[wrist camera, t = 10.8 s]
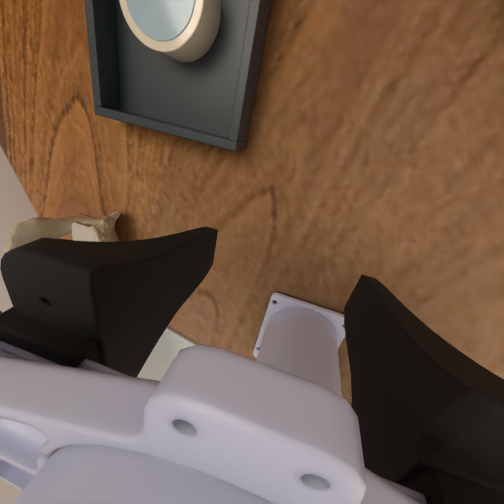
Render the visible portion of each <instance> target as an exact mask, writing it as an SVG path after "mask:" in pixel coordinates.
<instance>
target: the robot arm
mask: <svg viewBox="0 0 504 504" xmlns="http://www.w3.org/2000/svg"><path fill="white" fill-rule="evenodd" d="M217 233H218V230H216V229H213V228H209V227H201V228H197V229H193V230H189V231H185V232H181V233H177V234H172V235H168V236H163V237H158V238H152V239H144V240H135V241H115V242H96V241H75V240H65V239H54V238H45V237H44V238H40V239H37V240H35V241H32V242H30V243H27V244H24V245H22V246H19V247H17V248H14V249H11V250H9V251H8V252H6V253H5V254H4V256H3V257H2V259H1V273H2V276H3V280H4V282H5V285H6V288H7V290H8V293H9V296H10V299H11V301H12V304H13V306H14V307H12V308H10V309H9V310H7V311H5V312H3V313H2V312H1V311H0V478H1V479H3V480H4V481H6V482H8V483H9V484H11V485H13V486H15V487H16V488H18V489H20V490H21V491H22V492H21V493H20V494H19V496H18V497H17V498H16V499H15V501H14V502H13V503H12V504H504V380H503V379H502V378H500V377H498V376H497V375H495V374H493V373H492V372H490V371H489V370H487V369H485V368H484V367H482V366H481V365H479V364H478V363H476V362H475V361H473V360H472V359H470V358H469V357H467V356H466V355H464V354H463V353H461V352H460V351H459V350H457V349H456V348H454V347H453V346H452V345H450V344H449V343H448V342H446V341H445V340H444V339H442V338H441V337H440V336H439V335H437V334H436V333H435V332H433V331H432V330H431V329H430V328H429V327H427V326H426V325H425V324H424V323H423V322H422V321H420V320H419V319H418V318H417V317H416V316H415V315H414V314H413V313H412V312H410V311H409V310H408V309H407V308H406V307H405V306H404V305H403V304H402V303H401V302H400V301H399V300H398V299H397V298H396V297H395V296H394V295H393V294H392V293H391V292H390V291H389V290H388V289H387V288H386V287H385V286H384V285H383V284H381V283H380V282H379V281H378V280H377V279H375V278H372V277H369V276H366V275H361V277H360V279H359V281H358V283H357V285H356V286H355V288H354V290H353V292H352V294H351V296H350V298H349V300H348V301H347V303H346V305H345V309H344V314H341V313H338V312H335V311H332V310H329V309H326V308H323V307H320V306H317V305H314V304H311V303H308V302H305V301H302V300H299V299H296V298H292V297H289V296H286V295H283V294H280V293H277V292H275V293H273V294H272V295H271V298H270V302H269V305H268V308H267V311H266V314H265V317H264V320H263V323H262V326H261V330H260V333H259V336H258V339H257V342H256V345H255V348H254V351H253V355H254V356H255V357H256V358H257V360H256V361H255V360H253V359H250V358H247V357H244V356H242V355H239V354H236V353H234V352H231V351H228V350H225V349H223V348H219V347H213V346H207V345H201V344H200V345H194V346H191V347H188V348H185V349H182V350H180V351H179V353H178V355H177V356H176V358H175V359H174V361H173V362H172V364H171V366H170V367H169V369H168V370H167V372H166V373H165V375H164V377H163V378H162V380H161V381H156V380H149V379H143V378H137V376H138V374H139V372H140V370H141V369H142V367H143V365H144V363H145V362H146V360H147V358H148V357H149V355H150V353H151V352H152V350H153V348H154V347H155V345H156V343H157V342H158V340H159V338H160V337H161V335H162V334H163V332H164V330H165V329H166V327H167V326H168V324H169V323H170V321H171V320H172V318H173V317H174V315H175V314H176V312H177V311H178V310H179V308H180V307H181V306H182V305H183V304H184V302H185V301H186V300H187V299H188V298H189V296H190V295H191V294H192V293H193V292H194V290H195V289H196V288H197V287H198V285H199V284H200V283H201V282H202V281H203V279H204V278H205V276H206V275H207V273H208V271H209V270H210V268H211V266H212V265H213V259H214V253H215V246H216V240H217ZM273 300H275V301H277V302H274V301H273ZM343 324H344V325H343ZM345 336H346V342H347V349H348V356H349V363H350V371H351V389H352V407H351V406H350V404H349V402H348V401H347V400H346V399H345V398H343V397H342V393H341V381H340V369H339V357H338V348H339V346H340V344H341V343H342V341H343V339H344V337H345ZM258 347H259V348H258Z"/></svg>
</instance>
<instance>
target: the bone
mask: <svg viewBox="0 0 504 504" xmlns="http://www.w3.org/2000/svg"><path fill="white" fill-rule="evenodd" d="M120 214H121V211H119V210H118V211H116V212H114V213H112V214H111V215H109V216H105V217H104V218H103V219H99V218H94V217H88V216H84V215H82V214H80V215H77V216H70V217H64V218H57V219H50V218H44V217H37V218H32V219H29V220H27V221H24V222H21V223H18V224H17V225H15V226H14V227H13V228H12V230H11V233H10V237H9V239H8V241H7V242H6V244H5V248H4V254H5V253H6V252H8V251H9V250H11V249H14V248H17V247H19V246H22V245H24V244H27V243H30V242H32V241H35V240H37V239H40V238H44V237H45V238H54V239H60V238H61V237H63V236H65V235H67V234H69V233H71V232H72V238H73V240H75V241H96V242H115V241H120V240H119V238H118V236H117V234H116V231H115V222H116V220H117V219H118V217H119V216H120Z"/></svg>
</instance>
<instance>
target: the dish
mask: <svg viewBox="0 0 504 504" xmlns="http://www.w3.org/2000/svg"><path fill="white" fill-rule="evenodd" d="M119 2H120V5H121V9H122V12H123V15H124V17H125V19H126V22H127V23H128V25H129V27H130V29H131V30H132V32H133V33H134V35H135V36H136V37H137V38H138V39H139V40H140V41H141V42H142V43H143V44H144V45H146V46H147V47H149V48H151V49H153V50H155V51H157V52H159V53H161V54H163V55H165V56H167V57H169V58H171V59H173V60H175V61H178V62H192V61H195V60H197V59H199V58H200V57H202V56H203V55H204V54H205V53H206V52H207V51H208V50H209V49H210V47H211V46H212V44H213V42H214V40H215V38H216V36H217V33H218V29H219V26H220V19H221V0H119Z"/></svg>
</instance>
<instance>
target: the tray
mask: <svg viewBox="0 0 504 504" xmlns="http://www.w3.org/2000/svg"><path fill="white" fill-rule="evenodd" d="M84 1H85V11H86V22H87V33H88V43H89V54H90V65H91V76H92V86H93V97H94V105H95V106H94V108H95V114H96V115H99V116H103V117H107V118H111V119H115V120H118V121H122V122H126V123H130V124H133V125H137V126H141V127H145V128H149V129H152V130H156V131H160V132H164V133H168V134H171V135H175V136H179V137H183V138H187V139H190V140H194V141H198V142H202V143H206V144H209V145H213V146H217V147H221V148H224V149H228V150H232V151H238V150H243V149H245V147H246V141H247V136H248V130H249V125H250V119H251V114H252V108H253V103H254V97H255V92H256V86H257V81H258V75H259V70H260V65H261V59H262V54H263V48H264V43H265V37H266V32H267V26H268V21H269V15H270V10H271V4H272V0H221V19H220V26H219V29H218V33H217V36H216V38H215V40H214V42H213V44H212V46H211V47H210V49H209V50H208V51H207V52H206V53H205V54H204V55H203V56H202V57H200V58H199V59H197V60H195V61H192V62H178V61H175V60H173V59H171V58H169V57H167V56H165V55H163V54H161V53H159V52H157V51H155V50H153V49H151V48H149V47H147V46H146V45H144V44H143V43H142V42H141V41H140V40H139V39H138V38H137V37H136V36H135V35H134V33H133V32H132V30H131V29H130V27H129V25H128V23H127V22H126V19H125V17H124V15H123V12H122V9H121V5H120V2H119V0H84Z"/></svg>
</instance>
